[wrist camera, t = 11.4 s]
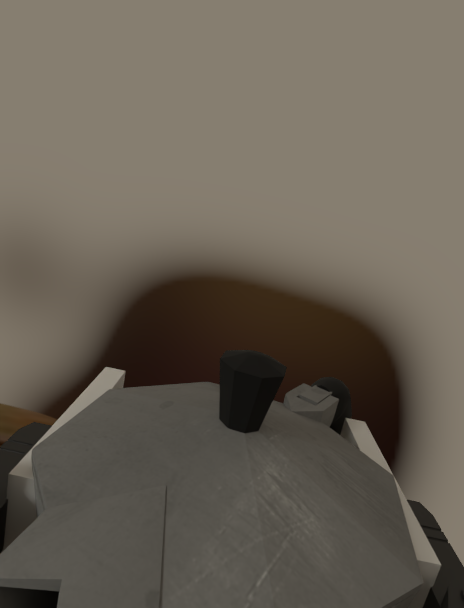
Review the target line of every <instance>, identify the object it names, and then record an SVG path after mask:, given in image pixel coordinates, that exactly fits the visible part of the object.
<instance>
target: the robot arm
mask: <svg viewBox="0 0 464 608" xmlns="http://www.w3.org/2000/svg"><path fill="white" fill-rule="evenodd" d="M124 377H125V371H123V370H118V369H113V368H108V367H106V368H105V369H104V370H103V371H102V372H101V373H100V374H99V375H98V376H97V377H96V379H95V380H94V381H93V382H92V383H91V384H90V385H89V386H88V387H87V389H86V390H85V391H84V392H83V393H82V394H81V395H80V396H79V397H78V398H77V400H76V401H75V402H74V403H73V404H72V405H71V406H70V407H69V408H68V409H67V411H66V412H65V413H64V414H63V415H62V416H61V417H60V418H59V419H58V420H57V421H56V422H55V424H54V425H53V426H50V425H45V424H41V423H36V422H34V423H31V424H29V425H27V426H25V427H23V428H21V429H19V430H18V431H17V432H15V433H14V434H13V435H12V436H11V437H10V438H9V439H8V441H6V442H5V443H4V444H3V445H2V446H1V447H0V553H2V552H3V551H4V550H5V549H6V548H7V547H8V546H9V545H10V544H11V543H12V542H13V541H14V540H15V539H16V538H17V537H18V536H19V535H20V534H21V533H22V532H23V531H24V530H25V529H26V528H27V527H28V526H30V525H31V524H32V523H33V522H34V521H35V520H36V519H37V515H36V501H35V487H34V477H33V471H32V460H31V457H32V455H31V454H32V449H33V448H34V447H35V446H37V445H38V444H39V443H41V442H42V441H43V440H44V439H46V438H47V437H48V436H50V435H51V434H52V433H54V432H55V431H56V430H57V429H59V428H60V427H61V426H63V425H64V424H65V423H66V422H68V421H69V420H70V419H72V418H73V417H74V416H75V415H77V414H78V413H79V412H81V411H82V410H83V409H84V408H86V407H87V406H88V405H90V404H91V403H92V402H94V401H95V400H96V399H97V398H99V397H100V396H101V395H103V394H104V393H105V392H106V391H108V390H109V389H119V388H123V384H124ZM340 436H342V437H343V438H344V439H346V440H347V441H348V442H350V443H351V444H352V445H354V446H355V447H356V448H358V449H359V450H360V451H362V452H363V453H364V454H365V455H367V456H368V457H369V458H371V459H372V460H373V461H375V462H376V463H377V464H379V465H380V466H381V467H383V468H384V469H385V470H387V471H388V472H389V473H391V474H392V472H391V470H390V468H389V466H388V465H387V462H386V461H385V459H384V457H383V455H382V453H381V451H380V449H379V447H378V446H377V444H376V442H375V440H374V439H373V436H372V435H371V433H370V431H369V429H368V427H367V425H366V423H365V422H363V421H358V420H354V419H349V418H345V421H344V424H343V428H342V431H341V434H340ZM392 475H393V474H392ZM394 479H395V477H394ZM395 483H396V486H397V490H398V493H399V497H400V500H401V504H402V508H403V511H404V515H405V518H406V522H407V525H408V529H409V533H410V536H411V540H412V543H413V547H414V550H415V554H416V558H417V561H418V565H419V568H420V572H421V575H422V579H423V585H422V588H421V589H420V590H419V591H418V592H417V594H416V596H415V597H414V599H413V600H412V602H411V603H410V605H409V606H408V608H464V567H463V565H462V563H461V562H460V560H459V558H458V557H457V555H456V553H455V552H454V550H453V548H452V547H451V545H450V543H448V540H447V538H446V537H445V535H444V533H443V532H441V528H440V526H439V525H438V523H437V522H436V520H435V518H434V516H433V515H432V514H431V513H430V512H429V511H428V510H427V509H426V508H425V507H424V506H423V505H422V504H421V503H419V502H415V501H411V500H406V498H405V496H404V494H403V492H402V491H401V489H400V487H399V485H398V483H397V481H396V479H395Z"/></svg>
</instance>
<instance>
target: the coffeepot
mask: <svg viewBox="0 0 464 608" xmlns="http://www.w3.org/2000/svg"><path fill="white" fill-rule="evenodd" d="M285 372H286V366H284V365H282V364H281V363H280V362H278V361H277V360H275V359H273V358H272V357H270V356H268V355H265V354H263V353H261V352H257V351H251V350H234V351H233V350H231V351H225V353H224V354H223V356H222V357H221V358H220V385H218V384H214V383H211V382H200V383H186V384H174V385H173V384H172V385H160V386H145V387H134V388H133V387H132V388H119V389H109V390H108V391H106V392H105V393H104V394H103V395H101V396H100V397H99V398H97V399H96V400H95V401H94V402H92V403H91V404H90V405H88V406H87V407H86V408H84V409H83V410H82V411H81V412H79V413H78V414H77V415H75V416H74V417H73V418H72V419H70V420H69V421H68V422H66V423H65V424H64V425H63V426H61V427H60V428H59V429H57V430H56V431H55V432H54V433H52V434H51V435H50V436H48V437H47V438H46V439H44V440H43V441H42V442H41V443H39V444H38V445H37V446H35V447H34V448H33V449H32V454H31V455H32V457H31V460H32V471H33V477H34V487H35V501H36V515H37V519H36V520H35V521H34V522H33V523H32V524H31V525H30V526H28V527H27V528H26V529H25V530H24V531H23V532H22V533H21V534H20V535H19V536H18V537H17V538H16V539H15V540H14V541H13V542H12V543H11V544H10V545H9V546H8V547H7V548H6V549H5V550H4V551H3V552H2V553H1V554H0V608H408V606H409V605H410V603H411V602H412V600H413V599H414V597H415V596H416V594H417V592H418V591H419V590H420V589H421V588H422V585H423V579H422V575H421V572H420V568H419V565H418V561H417V558H416V554H415V550H414V547H413V543H412V540H411V536H410V533H409V529H408V525H407V522H406V518H405V515H404V511H403V508H402V504H401V500H400V497H399V493H398V490H397V486H396V483H395V479H394V476H393V475H392V474H391V473H389V472H388V471H387V470H385V469H384V468H383V467H381V466H380V465H379V464H377V463H376V462H375V461H373V460H372V459H371V458H369V457H368V456H367V455H365V454H364V453H363V452H362V451H360V450H359V449H358V448H356V447H355V446H354V445H352V444H351V443H350V442H348V441H347V440H346V439H344V438H343V437H342V436H340V434H341V431H342V428H343V424H344V421H345V418H349V419H351V416H352V411H351V398H350V394H349V389H348V388H347V387H346V386H345V385H344V383H343V382H342V381H340V380H338V379H335V378H333V377H326V378H321V379H319V380H318V381H316V382H315V383H313V384H312V385H311V386H308V385H306V384H302V385H300V386H298V387H297V388H295V389H293V390H291V391H290V392H288V393H286V396H285V399H284V403H280V402H276V401H273V399H274V397H275V395H276V393H277V390H278V388H279V386H280V384H281V382H282V380H283V378H284V376H285Z"/></svg>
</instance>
